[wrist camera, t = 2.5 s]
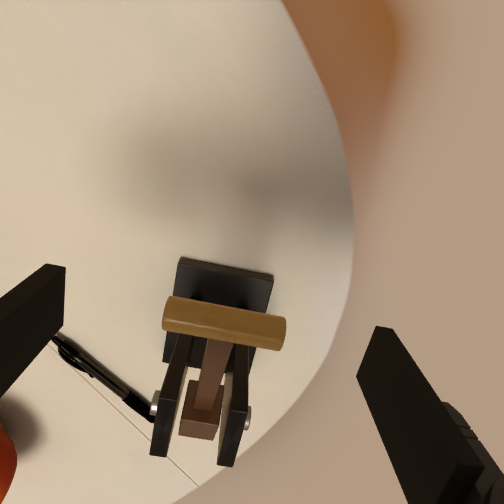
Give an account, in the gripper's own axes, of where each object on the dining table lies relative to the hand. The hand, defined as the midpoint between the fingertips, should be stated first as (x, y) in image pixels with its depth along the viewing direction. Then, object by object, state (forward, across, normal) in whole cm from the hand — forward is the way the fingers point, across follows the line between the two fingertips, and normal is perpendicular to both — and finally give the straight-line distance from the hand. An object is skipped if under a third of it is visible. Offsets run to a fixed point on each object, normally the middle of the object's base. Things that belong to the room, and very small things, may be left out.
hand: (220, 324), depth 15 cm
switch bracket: (+15, 0, -9) cm, 18 cm away
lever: (+3, 0, -4) cm, 5 cm away
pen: (+16, -8, -18) cm, 25 cm away
